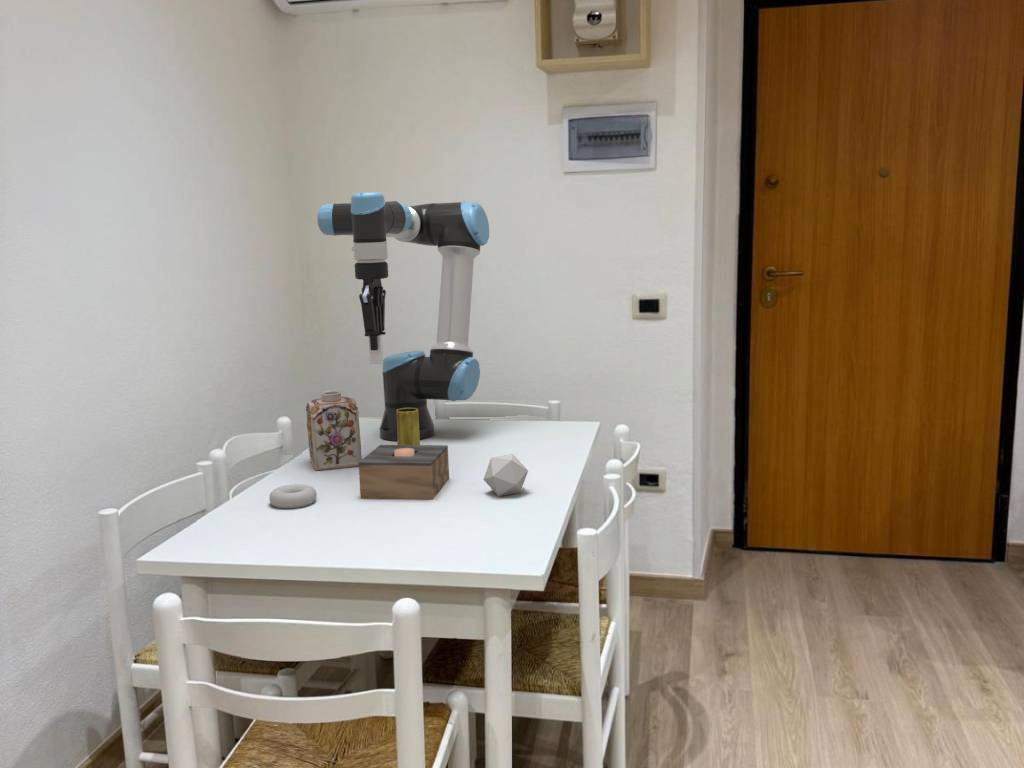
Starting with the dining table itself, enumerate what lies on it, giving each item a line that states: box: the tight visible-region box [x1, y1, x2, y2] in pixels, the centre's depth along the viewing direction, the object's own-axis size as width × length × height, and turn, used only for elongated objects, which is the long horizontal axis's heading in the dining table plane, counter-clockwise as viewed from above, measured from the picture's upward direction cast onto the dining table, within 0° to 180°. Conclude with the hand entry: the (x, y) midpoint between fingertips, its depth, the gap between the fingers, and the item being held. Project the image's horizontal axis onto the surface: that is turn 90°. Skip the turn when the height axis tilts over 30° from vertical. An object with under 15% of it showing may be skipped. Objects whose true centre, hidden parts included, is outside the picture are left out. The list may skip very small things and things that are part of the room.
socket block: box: [358, 444, 450, 500], centre depth 214 cm, size 16×16×8 cm
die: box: [483, 453, 529, 497], centre depth 208 cm, size 8×9×10 cm
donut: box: [269, 483, 318, 509], centre depth 206 cm, size 10×3×10 cm
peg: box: [394, 448, 415, 456], centre depth 214 cm, size 4×4×8 cm
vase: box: [396, 408, 421, 445], centre depth 231 cm, size 6×6×14 cm
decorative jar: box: [305, 390, 362, 472], centre depth 237 cm, size 12×12×18 cm
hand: (376, 363), depth 223 cm, fingers closed
